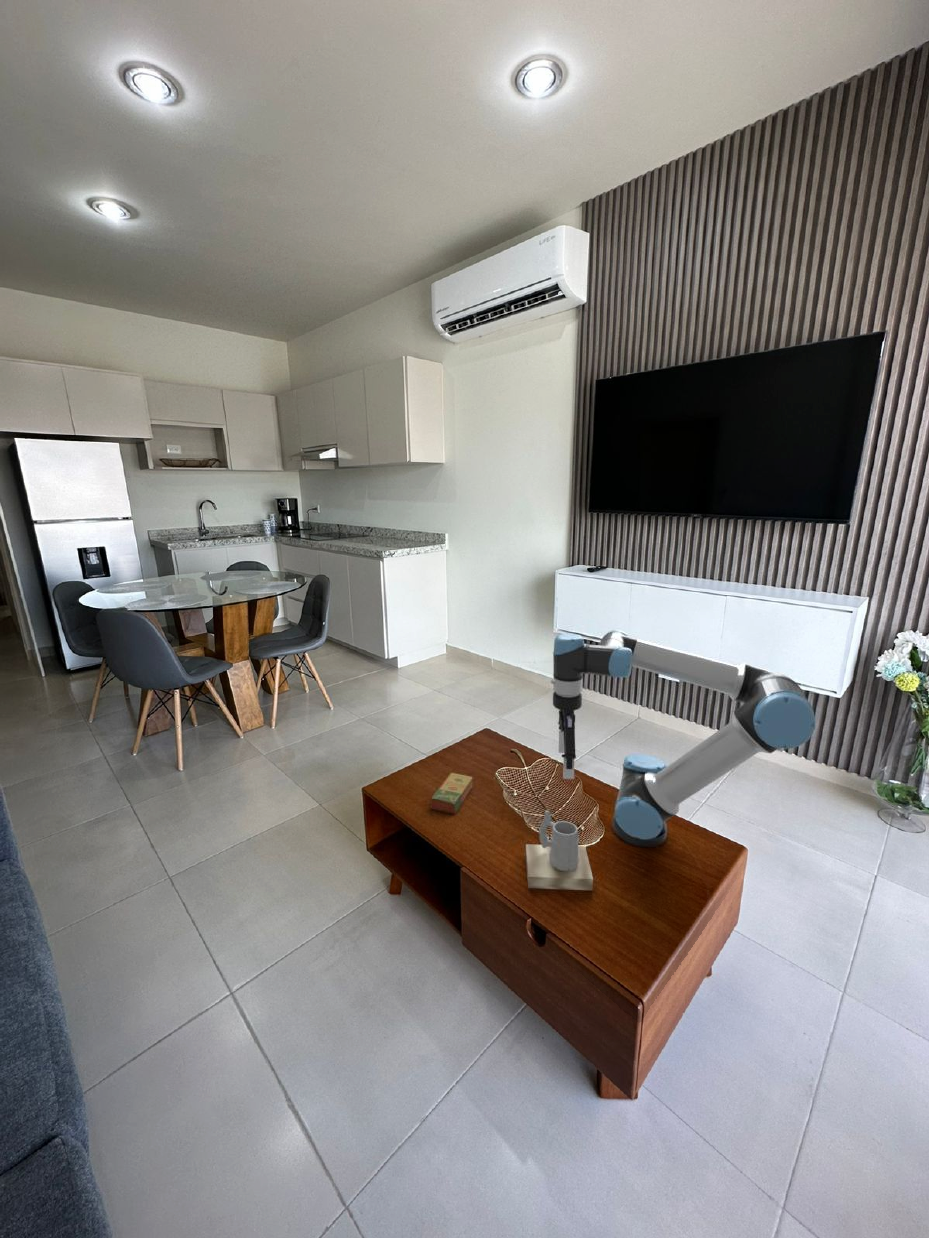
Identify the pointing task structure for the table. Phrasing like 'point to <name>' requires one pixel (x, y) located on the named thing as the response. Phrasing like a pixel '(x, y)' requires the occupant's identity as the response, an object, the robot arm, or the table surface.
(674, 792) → the robot arm
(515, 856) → the table surface
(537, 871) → the cream rectangular block
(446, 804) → the carton
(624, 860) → the table surface
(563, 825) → the mug
